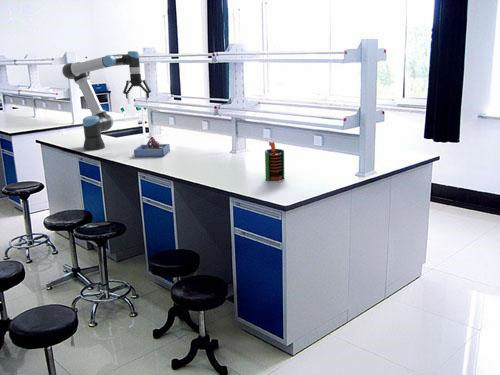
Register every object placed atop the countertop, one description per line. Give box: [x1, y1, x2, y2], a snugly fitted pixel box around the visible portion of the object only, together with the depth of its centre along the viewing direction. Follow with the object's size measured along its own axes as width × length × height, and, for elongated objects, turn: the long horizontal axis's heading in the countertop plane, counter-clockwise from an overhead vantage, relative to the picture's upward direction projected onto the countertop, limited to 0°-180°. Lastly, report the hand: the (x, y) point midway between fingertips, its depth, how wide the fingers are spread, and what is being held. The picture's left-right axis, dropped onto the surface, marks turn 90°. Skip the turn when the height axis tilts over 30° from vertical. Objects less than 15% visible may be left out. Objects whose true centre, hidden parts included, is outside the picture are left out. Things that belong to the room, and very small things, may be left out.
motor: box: [264, 141, 285, 182], centre depth 272 cm, size 10×9×20 cm
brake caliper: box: [146, 136, 164, 149], centre depth 349 cm, size 11×11×12 cm
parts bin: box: [133, 143, 171, 158], centre depth 349 cm, size 20×18×5 cm
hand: (138, 103), depth 371 cm, fingers open, 13 cm apart
